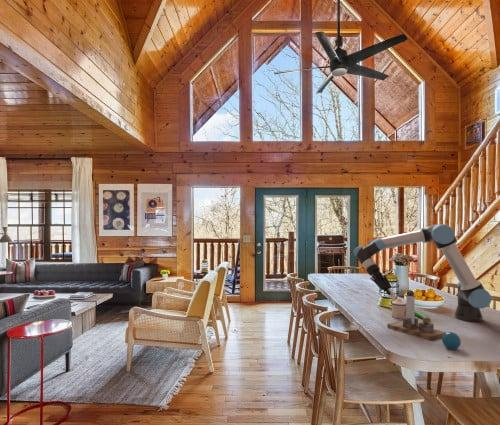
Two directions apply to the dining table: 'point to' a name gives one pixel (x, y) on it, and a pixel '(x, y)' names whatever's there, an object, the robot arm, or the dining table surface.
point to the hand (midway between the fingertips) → (394, 298)
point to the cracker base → (417, 328)
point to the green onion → (420, 315)
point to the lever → (410, 306)
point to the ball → (451, 340)
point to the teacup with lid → (399, 309)
